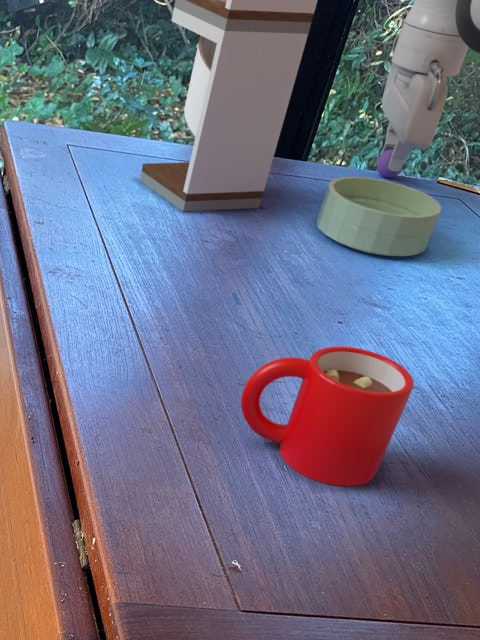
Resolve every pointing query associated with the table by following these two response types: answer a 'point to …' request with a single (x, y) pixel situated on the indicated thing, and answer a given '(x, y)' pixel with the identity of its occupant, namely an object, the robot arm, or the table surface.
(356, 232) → the bowl
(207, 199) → the brown-rimmed upright block
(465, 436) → the table surface
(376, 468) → the mug
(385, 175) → the ball
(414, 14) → the robot arm
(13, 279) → the table surface
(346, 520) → the table surface
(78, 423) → the table surface
